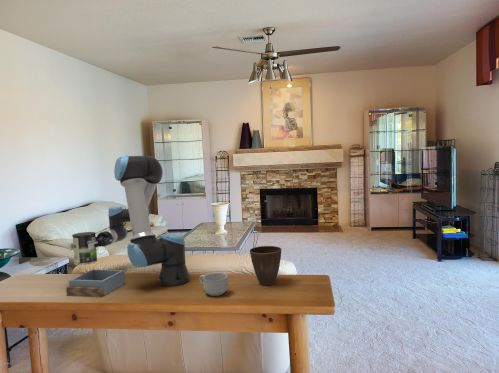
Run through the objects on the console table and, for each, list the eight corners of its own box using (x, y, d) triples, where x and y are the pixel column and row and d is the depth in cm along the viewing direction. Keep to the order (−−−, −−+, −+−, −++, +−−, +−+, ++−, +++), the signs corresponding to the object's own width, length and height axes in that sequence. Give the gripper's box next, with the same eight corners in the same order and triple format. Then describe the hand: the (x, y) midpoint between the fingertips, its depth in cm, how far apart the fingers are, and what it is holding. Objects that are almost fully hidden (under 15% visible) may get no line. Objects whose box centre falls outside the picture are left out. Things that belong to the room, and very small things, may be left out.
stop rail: (104, 296, 165) (103, 287, 165) (101, 297, 163) (101, 288, 163) (69, 294, 169) (68, 286, 169) (66, 296, 167) (66, 287, 167)
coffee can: (101, 259, 184) (99, 231, 183) (88, 265, 174) (86, 235, 173) (83, 259, 186) (81, 231, 185) (69, 265, 176) (67, 235, 175)
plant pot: (264, 290, 164) (262, 254, 163) (244, 282, 176) (243, 249, 175) (289, 283, 173) (288, 249, 172) (269, 276, 185) (267, 244, 184)
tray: (125, 283, 182) (124, 270, 181) (103, 295, 165) (102, 281, 165) (93, 282, 186) (93, 269, 185) (69, 294, 169) (68, 280, 168)
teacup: (233, 292, 163) (232, 274, 162) (214, 300, 155) (214, 281, 154) (212, 286, 172) (211, 269, 172) (194, 293, 164) (193, 275, 164)
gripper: (126, 244, 195) (100, 255, 173) (88, 245, 200) (59, 254, 178) (125, 230, 195) (99, 239, 173) (87, 231, 199) (57, 239, 178)
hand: (79, 247), depth 175 cm, fingers closed on coffee can, 10 cm apart
